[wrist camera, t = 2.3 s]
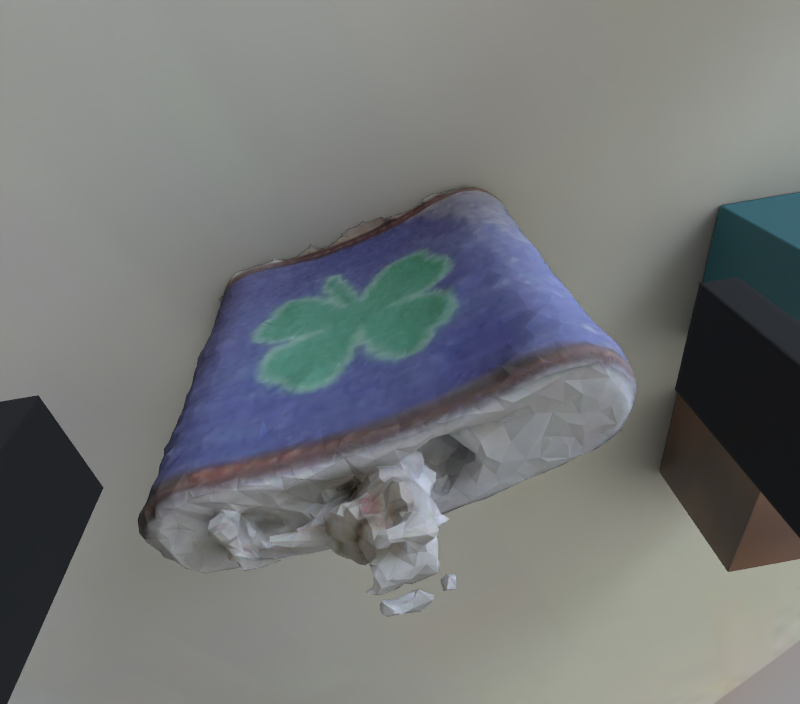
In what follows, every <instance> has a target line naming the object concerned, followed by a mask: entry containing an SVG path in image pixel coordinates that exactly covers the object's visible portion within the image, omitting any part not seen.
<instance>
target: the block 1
mask: <svg viewBox="0 0 800 704" xmlns="http://www.w3.org/2000/svg"><path fill="white" fill-rule="evenodd" d="M734 277H738V278H740V279H741V280H742V281H744V282H745V283H746V284H748V285H749V286H751V287H752V288H753V289H755V290H756V291H757V292H759V293H760V294H761V295H763V296H764V297H766V298H767V299H768V300H770V301H771V302H772V303H774V304H775V305H776V306H778V307H779V308H781V309H782V310H783V311H785V312H786V313H787V314H789V315H790V316H791V317H793V318H794V319H795V320H797V321H798V322H800V192H798V193H792V194H786V195H781V196H775V197H769V198H763V199H757V200H751V201H745V202H740V203H734V204H728V205H722V206H720V208H719V212H718V217H717V221H716V226H715V230H714V234H713V239H712V243H711V248H710V252H709V257H708V261H707V265H706V270H705V274H704V279H703V283H704V282H710V281H716V280H722V279H728V278H734Z"/></svg>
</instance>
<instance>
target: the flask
mask: <svg viewBox="0 0 800 704" xmlns="http://www.w3.org/2000/svg"><path fill="white" fill-rule="evenodd" d="M423 202H424V203H423V204H422V205H421V206H418V207H417V208H415V209H414V210H410V211H407V212H405V213H401V214H398V216H390V217H389V218H386V219H384V218H382V217H380V218H377V219H375V220H373V221H371V222H367V223H365V222H361V223H360V224H359V225H358V226H357V227H355V228H351V229H348V230H347V231H346V232H345V234H342V237H343V238H338V239H337V241H336V242H335V243H333V244H332V246H329V247H327V248H322V249H318V248H316V247H314V246H312V245H311V244H310V246H309V248H308V249H307V250H305V251H304V252H303V253H302V254H301V255H299V257H296V258H293V259H291V260H277V259H276V258H273V261H272V262H269V263H267V264H264V265H261V266H254V267H252V268H250V269H247V270H245V271H244V270H243V271H239V272H237V273H235V274H234V276H233V277H232V278H231V280H230V281H229V283H228V285H227V287H226V289H225V292H224V295H223V296H222V297H221V298H220V299H219V300H221V304H220V308H219V310H218V313H217V316H216V320H215V323H214V327H213V329H212V332H211V335H210V337H209V339H208V341H207V342H206V344H205V346H204V348H203V350H202V351H201V353H200V355H199V357H198V362H197V367H196V369H195V372H194V377H193V382H192V386H191V388H190V391H189V393H188V394H187V396H186V400H185V404H184V408H183V410H182V413H181V415H180V417H179V419H178V422H177V425H176V427H175V429H174V431H173V433H172V436H171V438H170V441H169V443H168V444H167V445H166V447H165V448H164V457H163V459H162V461H161V464H160V467H159V474H158V477H157V478H156V480H155V482H154V484H153V485H152V488H151V490H150V493H149V497H148V500H147V502H146V504H145V506H144V507H143V509H142V511H141V512H140V514H139V517H138V526H139V533H140V534H141V536H142V537H143V538H144V539H145V540H146V542H147V543H148V544H150V545H151V546H153V547H154V548H156V549H157V550H159V551H160V552H161V553H162V555H163V556H164V558H168V559H171V560H174V561H176V562H177V563H179V564H180V565H182V566H183V567H184V568H187V569H191V570H196V571H199V572H202V573H211V572H217V571H222V570H228V569H233V568H239V567H241V568H242V569H243V570H244V571H246V570H251V569H256V568H260V567H263V566H267V565H269V564H272V563H275V562H278V561H281V560H280V559H281V558H285V557H289V556H294V555H301V554H309V553H314V552H318V551H323V550H327V549H332V550H333V551H334V552H335V553H336V554H337V555H340V556H342V557H345V558H347V559H352V560H353V561H355V562H356V563H358V564H361V565H367V564H369V563H370V564H369V565H370V566H371V569H372V571H373V574H374V584H373V586H372V588H371V589H370V590H368V591H367V592H366V594H367V595H371V594H373V595H381V594H384V593H387V592H389V591H392V590H395V589H398V588H399V587H400V586H402V585H403V584H404V583H406V584H413V583H416V582H418V581H420V580H423V579H425V578H428V577H430V576H432V575H435V574H437V573H438V570H439V566H440V565H439V561H438V547H439V544H438V540H437V536H436V535H437V533H438V532H439V529H438V528H439V527H440V526H442V525H443V524H444V523H445V522H446V521H448V520H449V519H448V518H447V517H446V516H444V515H442V514H444V513H447V512H449V511H452V510H454V509H457V508H459V507H462V506H465V505H467V504H470V503H473V502H476V501H480V500H483V499H486V498H488V497H490V496H492V495H495V494H497V493H499V492H501V491H503V490H505V489H507V488H509V487H511V486H513V485H515V484H517V483H519V482H521V481H523V480H526V479H528V478H531V477H534V476H536V475H539V474H541V473H544V472H546V471H549V470H551V469H554V468H556V467H559V466H561V465H563V464H565V463H567V462H569V461H570V460H572V459H574V458H576V457H577V456H579V455H582V454H585V453H587V452H590V451H592V450H595V449H597V448H598V447H600V446H601V445H602V444H604V443H605V442H607V441H608V440H610V439H611V438H612V437H613V436H615V435H616V434H617V433H618V432H619V431H621V429H622V427H623V425H624V423H625V421H626V419H627V417H628V415H629V413H630V411H631V408H632V406H633V403H634V398H635V394H636V390H637V383H636V380H635V376H634V374H633V372H632V369H631V367H630V365H629V363H628V361H627V359H626V357H625V355H624V353H623V352H622V350H621V348H620V346H619V345H618V344H617V343H616V342H615V341H614V340H613V339H612V338H611V337H610V336H608V335H607V334H606V333H605V332H603V331H602V330H601V329H600V328H599V327H598V326H597V325H596V324H595V323H594V322H593V321H592V320H591V319H590V317H589V316H588V315H587V314H586V312H585V311H584V310H583V309H582V308H581V306H580V305H579V304H578V303H577V302H576V301H575V299H574V298H573V297H572V295H571V294H570V292H569V291H568V290H567V289H566V288H565V286H564V285H563V284H562V283H561V282H560V280H559V279H558V278H557V277H556V276H555V275H553V273H552V272H551V270H550V268H549V266H548V265H547V264H546V263H545V262H544V261H543V259H542V256H541V254H540V253H539V251H538V250H537V249H536V248H535V247H534V245H533V244H532V243H531V242H530V241H529V240H528V239H527V238H526V237H525V236H524V235H523V233H522V231H521V230H520V229H519V227H518V226H517V224H516V223H515V222H514V220H513V219H512V218H511V216H510V215H509V213H508V212H507V210H506V209H505V208H504V206H503V204H502V203H501V201H500V200H499V199H498V198H496V197H495V196H493V195H492V194H490V193H488V192H487V191H485V190H482V189H478V188H474V187H471V188H466V189H457V190H451V191H448V192H445V193H440V194H432V195H431V196H430V197H426V198H424V199H423ZM441 583H442V587H443V591H446V590H451V589H456V584H457V579H456V576H455V575H451V574H447V575H446V576H445V577H444V578H442V579H441ZM433 598H434V595H432V594H429V593H427V592H424V591H422V590H419V589H417V590H414V591H412V592H410V593H409V594H406V595H404V596H402V597H399V598H397V599H395V600H383V601H382V602H381V604H380V610H381V612H382V614H383V615H384V616H387V617H388V616H394V615H399V614H405V613H412V612H420V611H421V610H423V609H424V608H425V607H427V606H428V605H429V604H430V603H431V601H432V600H433Z"/></svg>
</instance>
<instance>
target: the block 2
mask: <svg viewBox="0 0 800 704" xmlns="http://www.w3.org/2000/svg"><path fill="white" fill-rule="evenodd" d="M660 474H661V475H662V477H663V478H664V479H665V481H666V482H667V484H668V485H669V487H670V488H671V490H672V491H673V493H674V494H675V495H676V497H677V498H678V500H679V501H680V503H681V504H682V506H683V507H684V509H685V510H686V512H687V513H688V514H689V516H690V517H691V519H692V520H693V522H694V523H695V525H696V526H697V528H698V529H699V530H700V532H701V533H702V535H703V536H704V538H705V539H706V541H707V542H708V544H709V545H710V547H711V548H712V549H713V551H714V552H715V554H716V555H717V557H718V558H719V560H720V561H721V563H722V564H723V565H724V567H725V568H726V570H727V571H728V572H731V571H736V570H741V569H747V568H752V567H758V566H763V565H769V564H774V563H780V562H785V561H790V560H796V559H800V538H799V537H798V536H797V535H796V533H795V532H794V531H793V530H792V529H791V527H790V526H789V525H788V524H787V523H786V521H785V520H784V519H783V518H782V517H781V515H780V514H779V513H778V512H777V511H776V509H775V508H774V507H773V506H772V505H771V503H770V502H769V501H768V500H767V499H766V497H765V496H764V495H763V494H762V493H761V492H760V490H759V489H758V488H757V487H756V486H755V484H754V483H753V482H752V481H751V480H750V478H749V477H748V476H747V475H746V474H745V472H744V471H743V470H742V469H741V468H740V466H739V465H738V464H737V463H736V462H735V460H734V459H733V458H732V457H731V456H730V455H729V453H728V452H727V451H726V450H725V449H724V447H723V446H722V445H721V444H720V443H719V441H718V440H717V439H716V438H715V437H714V435H713V434H712V433H711V432H710V431H709V429H708V428H707V427H706V426H705V425H704V423H703V422H702V421H701V420H700V419H699V418H698V416H697V415H696V414H695V413H694V412H693V410H692V409H691V408H690V407H689V406H688V404H687V403H686V402H685V401H684V400H683V398H682V397H681V396H680V395H679V394H677V398H676V403H675V407H674V412H673V416H672V421H671V425H670V429H669V434H668V438H667V443H666V447H665V452H664V456H663V460H662V465H661V469H660Z"/></svg>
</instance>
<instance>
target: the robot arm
mask: <svg viewBox="0 0 800 704" xmlns="http://www.w3.org/2000/svg"><path fill="white" fill-rule="evenodd" d="M675 390H676V391H677V392H678V394H679V395H680V396H681V397H682V398H683V400H684V401H685V402H686V403H687V404H688V406H689V407H690V408H691V409H692V410H693V412H694V413H695V414H696V415H697V416H698V418H699V419H700V420H701V421H702V422H703V423H704V425H705V426H706V427H707V428H708V429H709V431H710V432H711V433H712V434H713V435H714V437H715V438H716V439H717V440H718V441H719V443H720V444H721V445H722V446H723V447H724V449H725V450H726V451H727V452H728V453H729V455H730V456H731V457H732V458H733V459H734V460H735V462H736V463H737V464H738V465H739V466H740V468H741V469H742V470H743V471H744V472H745V474H746V475H747V476H748V477H749V478H750V480H751V481H752V482H753V483H754V484H755V486H756V487H757V488H758V489H759V490H760V492H761V493H762V494H763V495H764V496H765V497H766V499H767V500H768V501H769V502H770V503H771V505H772V506H773V507H774V508H775V509H776V511H777V512H778V513H779V514H780V515H781V517H782V518H783V519H784V520H785V521H786V523H787V524H788V525H789V526H790V527H791V529H792V530H793V531H794V532H795V533H796V535H797V536H798V537H799V538H800V322H798V321H797V320H795V319H794V318H793V317H791V316H790V315H789V314H787V313H786V312H785V311H783V310H782V309H781V308H779V307H778V306H776V305H775V304H774V303H772V302H771V301H770V300H768V299H767V298H766V297H764V296H763V295H761V294H760V293H759V292H757V291H756V290H755V289H753V288H752V287H751V286H749V285H748V284H746V283H745V282H744V281H742V280H741V279H740V278H738V277H734V278H728V279H722V280H716V281H710V282H704V283H699V288H698V292H697V296H696V301H695V305H694V309H693V314H692V318H691V322H690V327H689V331H688V335H687V340H686V344H685V348H684V353H683V357H682V361H681V366H680V370H679V374H678V379H677V383H676V387H675ZM102 490H103V486H102V485H101V484H100V482H99V481H98V479H97V478H96V477H95V475H94V474H93V472H92V471H91V469H90V468H89V467H88V465H87V464H86V462H85V461H84V459H83V458H82V457H81V455H80V454H79V452H78V451H77V450H76V448H75V447H74V445H73V444H72V442H71V441H70V440H69V438H68V437H67V435H66V434H65V432H64V431H63V430H62V428H61V427H60V425H59V424H58V423H57V421H56V420H55V418H54V417H53V415H52V414H51V413H50V411H49V410H48V408H47V407H46V405H45V404H44V403H43V401H42V400H41V398H40V397H39V395H38V396H32V397H26V398H20V399H14V400H8V401H2V402H0V704H7V703H8V701H9V699H10V696H11V694H12V692H13V690H14V687H15V685H16V683H17V681H18V678H19V676H20V674H21V672H22V669H23V667H24V665H25V663H26V660H27V658H28V656H29V654H30V651H31V649H32V647H33V645H34V642H35V640H36V638H37V636H38V633H39V631H40V629H41V627H42V624H43V622H44V620H45V618H46V615H47V613H48V611H49V609H50V606H51V604H52V602H53V600H54V597H55V595H56V593H57V591H58V588H59V586H60V584H61V582H62V579H63V577H64V575H65V573H66V570H67V568H68V566H69V564H70V561H71V559H72V557H73V555H74V553H75V550H76V548H77V546H78V544H79V541H80V539H81V537H82V535H83V532H84V530H85V528H86V526H87V523H88V521H89V519H90V517H91V514H92V512H93V510H94V508H95V505H96V503H97V501H98V499H99V496H100V494H101V492H102Z"/></svg>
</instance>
